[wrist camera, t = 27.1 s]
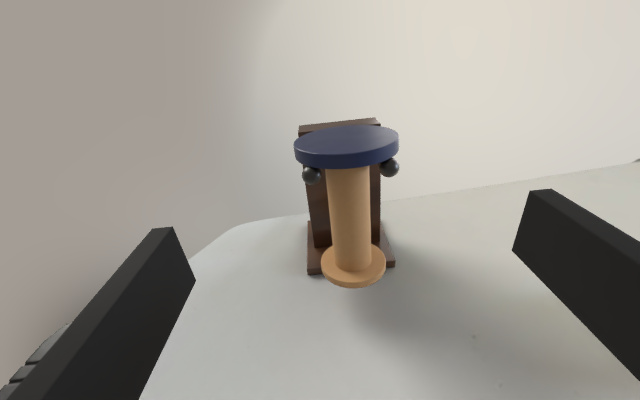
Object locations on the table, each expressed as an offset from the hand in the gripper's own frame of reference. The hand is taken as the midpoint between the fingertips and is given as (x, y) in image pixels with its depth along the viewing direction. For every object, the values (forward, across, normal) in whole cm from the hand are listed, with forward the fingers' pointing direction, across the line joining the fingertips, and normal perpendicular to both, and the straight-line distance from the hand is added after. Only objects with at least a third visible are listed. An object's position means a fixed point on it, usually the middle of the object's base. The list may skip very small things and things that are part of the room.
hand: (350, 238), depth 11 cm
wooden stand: (+20, +1, -19) cm, 27 cm away
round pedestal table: (+15, +1, -15) cm, 21 cm away
